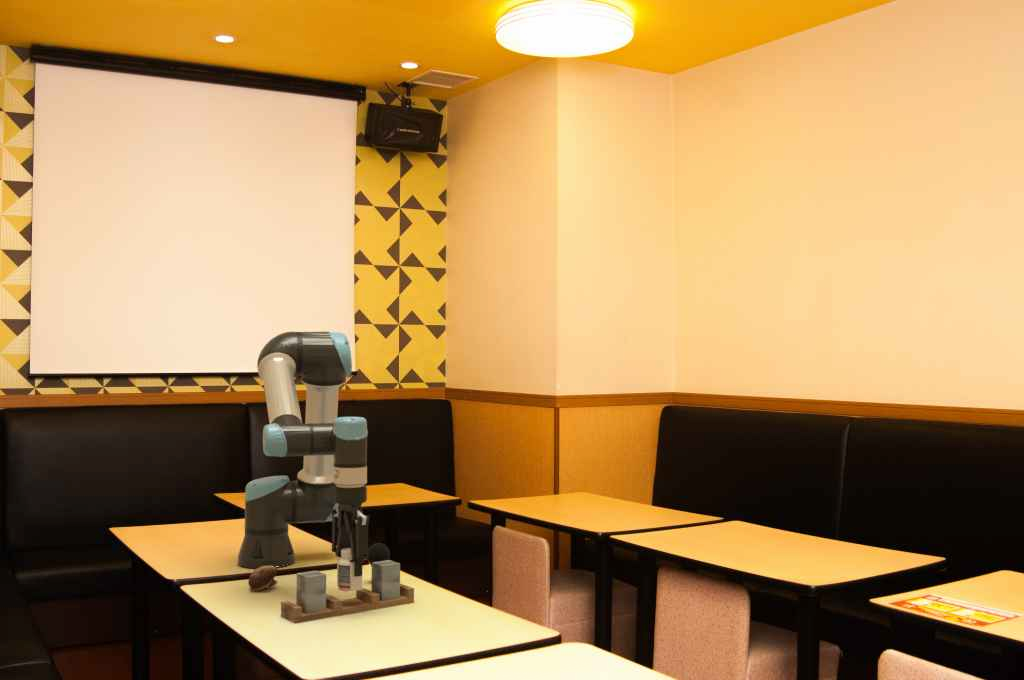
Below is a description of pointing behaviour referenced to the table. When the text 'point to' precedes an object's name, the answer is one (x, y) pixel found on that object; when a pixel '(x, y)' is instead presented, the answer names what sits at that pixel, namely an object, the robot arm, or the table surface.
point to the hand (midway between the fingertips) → (349, 587)
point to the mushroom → (263, 578)
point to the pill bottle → (344, 570)
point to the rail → (321, 605)
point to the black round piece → (378, 553)
